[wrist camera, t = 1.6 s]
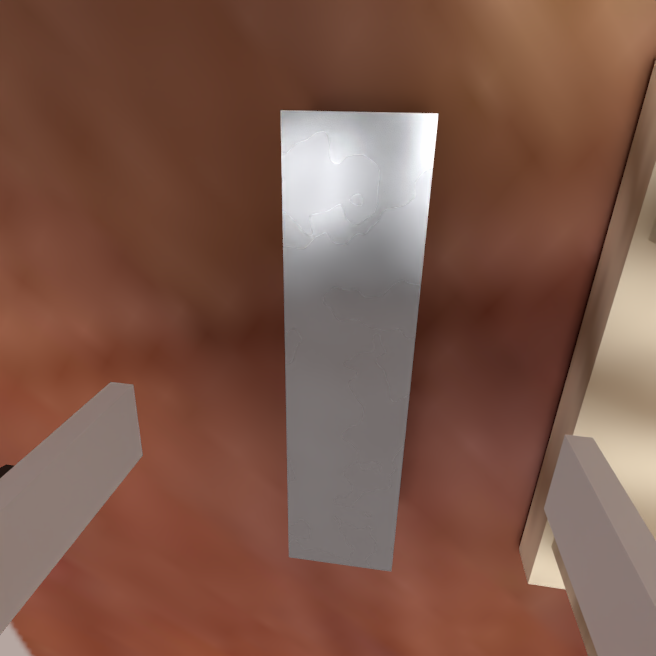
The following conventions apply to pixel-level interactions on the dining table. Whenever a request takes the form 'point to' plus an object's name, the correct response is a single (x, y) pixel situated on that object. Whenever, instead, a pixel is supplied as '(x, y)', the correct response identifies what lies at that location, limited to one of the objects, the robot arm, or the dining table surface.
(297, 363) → the bar
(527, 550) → the rack
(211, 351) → the dining table surface
